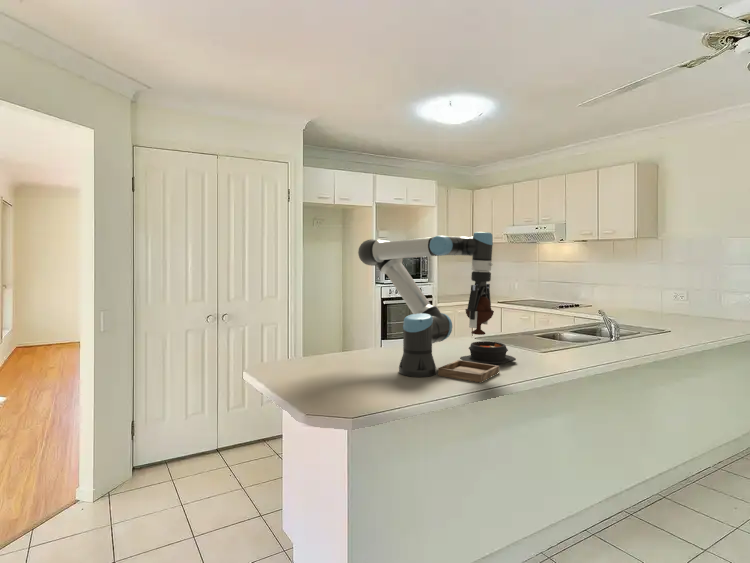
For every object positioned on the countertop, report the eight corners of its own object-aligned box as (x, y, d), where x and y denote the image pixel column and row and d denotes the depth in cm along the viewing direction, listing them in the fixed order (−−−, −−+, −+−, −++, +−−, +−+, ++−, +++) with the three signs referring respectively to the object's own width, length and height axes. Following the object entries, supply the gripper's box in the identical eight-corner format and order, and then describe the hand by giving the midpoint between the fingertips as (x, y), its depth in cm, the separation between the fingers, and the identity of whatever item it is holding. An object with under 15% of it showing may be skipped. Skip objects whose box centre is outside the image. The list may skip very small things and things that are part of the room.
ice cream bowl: (487, 331, 195) (488, 295, 194) (495, 336, 184) (497, 298, 183) (461, 330, 195) (463, 294, 193) (469, 335, 184) (471, 297, 182)
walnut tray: (480, 382, 177) (480, 374, 177) (438, 375, 187) (438, 368, 187) (499, 373, 191) (499, 365, 191) (458, 366, 202) (458, 359, 202)
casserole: (502, 356, 222) (502, 339, 222) (524, 366, 204) (524, 346, 204) (453, 359, 216) (453, 341, 216) (471, 369, 198) (471, 349, 198)
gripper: (479, 272, 176) (476, 330, 177) (500, 270, 195) (498, 323, 197) (460, 271, 180) (457, 328, 182) (483, 269, 199) (480, 321, 201)
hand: (478, 325), depth 189 cm, fingers closed on ice cream bowl, 11 cm apart
